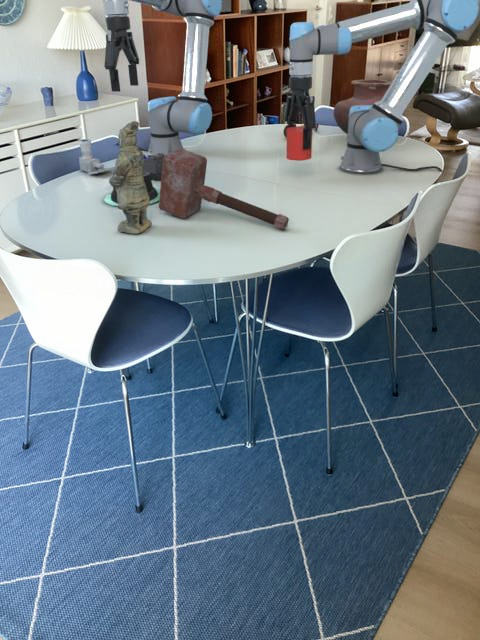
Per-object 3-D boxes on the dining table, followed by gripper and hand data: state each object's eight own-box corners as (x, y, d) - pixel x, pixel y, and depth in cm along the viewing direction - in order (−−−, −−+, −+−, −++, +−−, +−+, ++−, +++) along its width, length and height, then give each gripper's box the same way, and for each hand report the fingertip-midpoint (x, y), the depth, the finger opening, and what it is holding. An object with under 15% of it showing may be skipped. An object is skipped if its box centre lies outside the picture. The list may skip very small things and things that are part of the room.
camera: (89, 136, 215) (112, 142, 207) (93, 167, 222) (116, 174, 213) (70, 140, 210) (93, 147, 201) (75, 171, 216) (97, 179, 207)
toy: (139, 150, 209) (172, 153, 203) (141, 172, 213) (174, 177, 207) (125, 155, 202) (159, 159, 196) (128, 178, 206) (161, 183, 200)
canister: (293, 153, 199) (294, 125, 195) (315, 156, 195) (316, 127, 190) (281, 158, 193) (282, 130, 188) (304, 161, 189) (304, 132, 184)
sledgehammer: (299, 190, 156) (179, 147, 167) (285, 200, 148) (161, 154, 160) (286, 244, 166) (174, 200, 177) (272, 256, 158) (156, 209, 170)
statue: (131, 220, 168) (117, 116, 152) (158, 224, 164) (147, 118, 149) (109, 233, 159) (93, 124, 144) (138, 237, 156) (124, 126, 140)
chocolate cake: (91, 202, 180) (113, 186, 197) (142, 231, 182) (160, 212, 199) (107, 162, 172) (129, 148, 190) (160, 192, 174) (177, 176, 192)
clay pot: (397, 133, 263) (404, 75, 251) (402, 148, 238) (410, 85, 225) (333, 131, 268) (336, 75, 256) (330, 146, 243) (334, 85, 230)
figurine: (325, 121, 268) (300, 123, 249) (324, 137, 271) (299, 140, 252) (301, 118, 274) (275, 120, 255) (300, 134, 277) (274, 137, 258)
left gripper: (109, 17, 163) (118, 94, 174) (144, 14, 184) (151, 83, 194) (86, 17, 165) (97, 93, 176) (124, 14, 186) (131, 82, 196)
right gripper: (274, 73, 188) (274, 141, 199) (309, 80, 171) (306, 154, 183) (293, 71, 191) (292, 139, 202) (329, 78, 174) (325, 151, 185)
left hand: (125, 88), depth 185 cm, fingers open, 13 cm apart
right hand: (299, 146), depth 192 cm, fingers closed on canister, 9 cm apart
